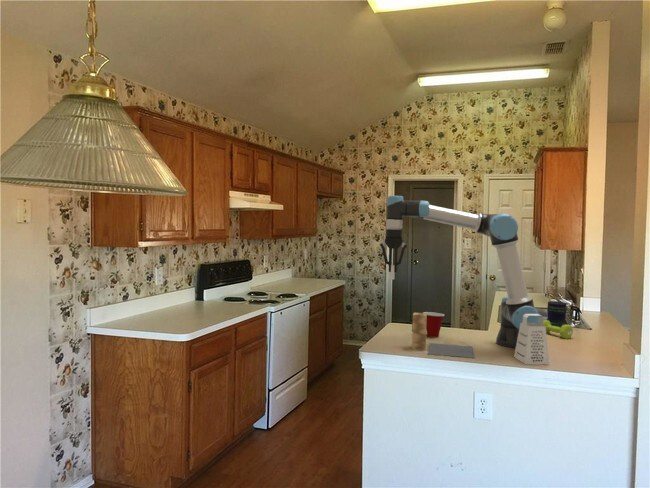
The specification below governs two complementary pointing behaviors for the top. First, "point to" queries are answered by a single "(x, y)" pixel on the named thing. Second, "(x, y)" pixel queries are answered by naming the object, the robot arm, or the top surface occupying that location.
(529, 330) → the grater
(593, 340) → the top surface
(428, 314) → the plastic cup
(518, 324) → the robot arm
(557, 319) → the storage jar
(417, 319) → the oak block
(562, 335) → the dumbbell
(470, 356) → the mat
